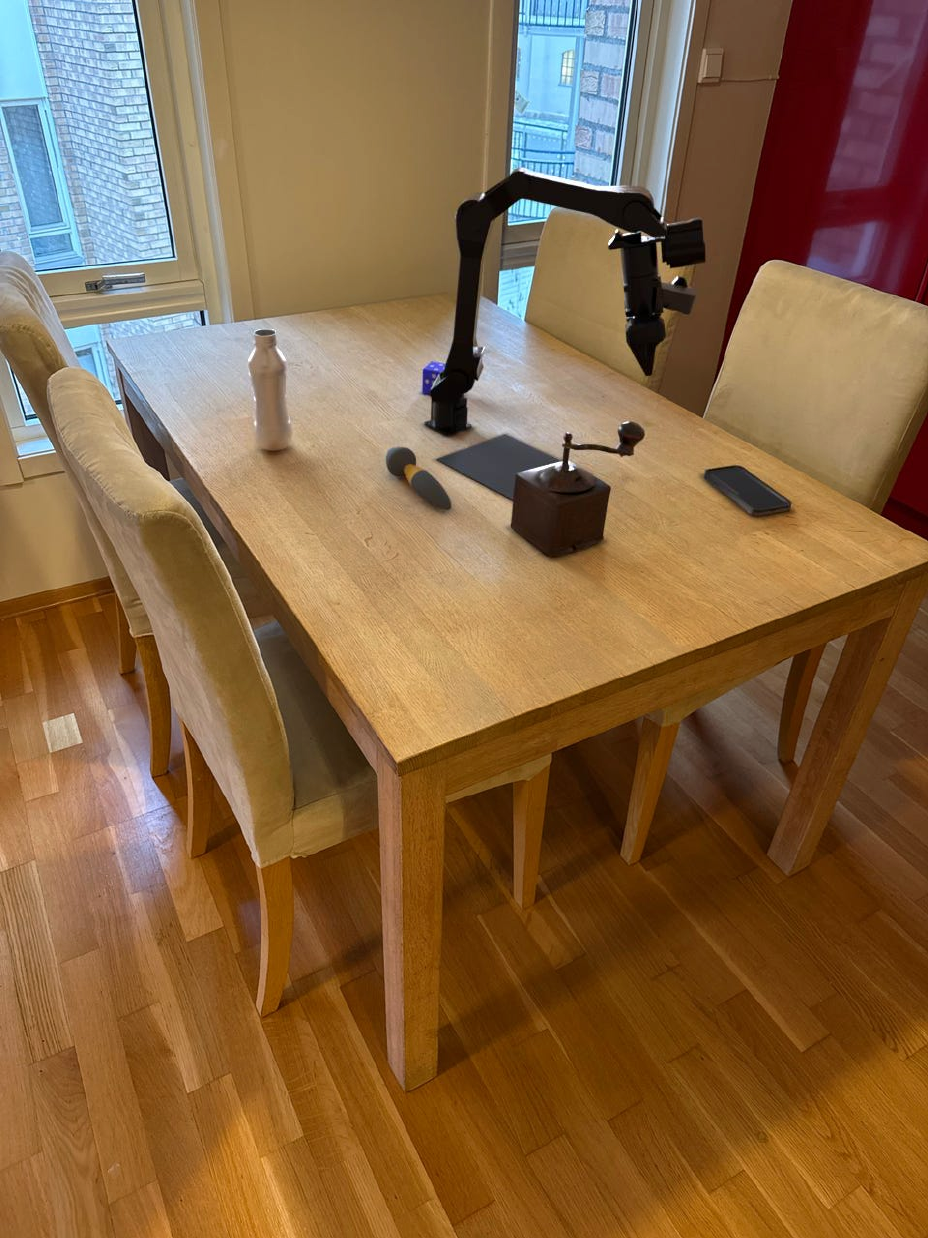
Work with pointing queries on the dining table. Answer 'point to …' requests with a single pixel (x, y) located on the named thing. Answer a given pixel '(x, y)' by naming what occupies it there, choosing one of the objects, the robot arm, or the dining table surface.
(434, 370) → the die
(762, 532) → the dining table surface
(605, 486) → the manual coffee grinder
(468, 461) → the mat
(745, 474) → the phone
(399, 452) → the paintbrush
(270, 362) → the plastic bottle
